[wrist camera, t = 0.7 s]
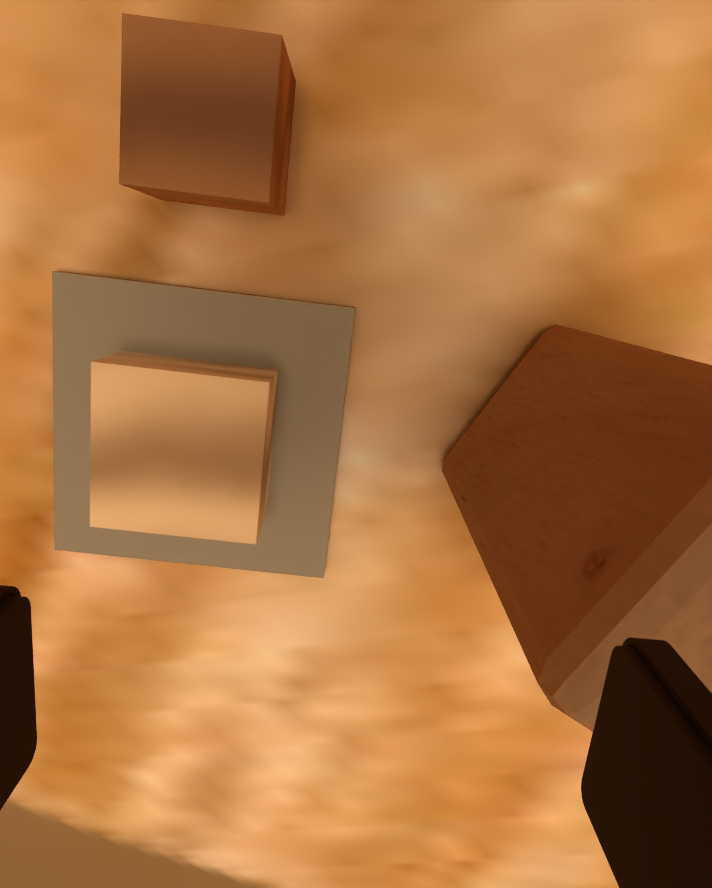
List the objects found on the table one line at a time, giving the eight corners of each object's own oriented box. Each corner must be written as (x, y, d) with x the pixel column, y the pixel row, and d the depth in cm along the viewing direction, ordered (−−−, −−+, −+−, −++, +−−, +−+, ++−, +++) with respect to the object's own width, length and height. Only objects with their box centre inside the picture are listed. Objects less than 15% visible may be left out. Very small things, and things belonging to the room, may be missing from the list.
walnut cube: (167, 64, 29) (122, 13, 24) (295, 81, 30) (281, 35, 24) (162, 200, 31) (119, 183, 25) (284, 215, 31) (268, 202, 25)
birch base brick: (122, 350, 32) (91, 361, 28) (279, 369, 32) (269, 382, 28) (119, 497, 34) (89, 526, 30) (266, 513, 34) (255, 544, 30)
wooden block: (431, 465, 35) (532, 711, 15) (549, 315, 32) (839, 380, 13) (569, 562, 36) (818, 895, 17) (690, 424, 34) (1133, 626, 15)
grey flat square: (59, 271, 32) (52, 271, 31) (355, 307, 32) (355, 308, 31) (61, 543, 36) (54, 549, 35) (324, 571, 36) (323, 578, 35)
